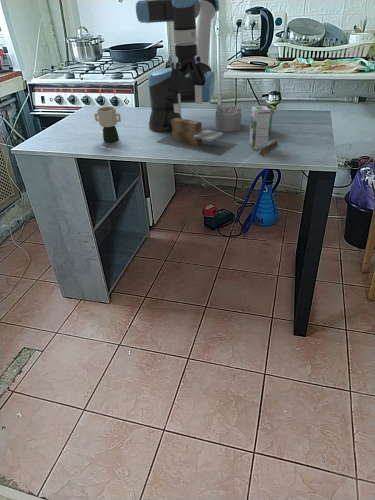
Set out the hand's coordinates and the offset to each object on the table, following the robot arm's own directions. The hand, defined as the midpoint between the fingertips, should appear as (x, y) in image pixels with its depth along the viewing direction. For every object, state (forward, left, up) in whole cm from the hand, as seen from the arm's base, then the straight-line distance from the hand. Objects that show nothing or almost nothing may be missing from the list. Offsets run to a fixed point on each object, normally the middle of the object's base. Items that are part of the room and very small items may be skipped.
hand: (188, 108), depth 142 cm
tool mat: (+2, 0, -14) cm, 14 cm away
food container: (+20, +24, -14) cm, 35 cm away
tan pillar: (+2, 0, -13) cm, 13 cm away
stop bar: (+30, +8, -14) cm, 34 cm away
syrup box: (+25, +8, -14) cm, 30 cm away
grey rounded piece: (+3, +23, -14) cm, 27 cm away
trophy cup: (-31, -13, -14) cm, 36 cm away
